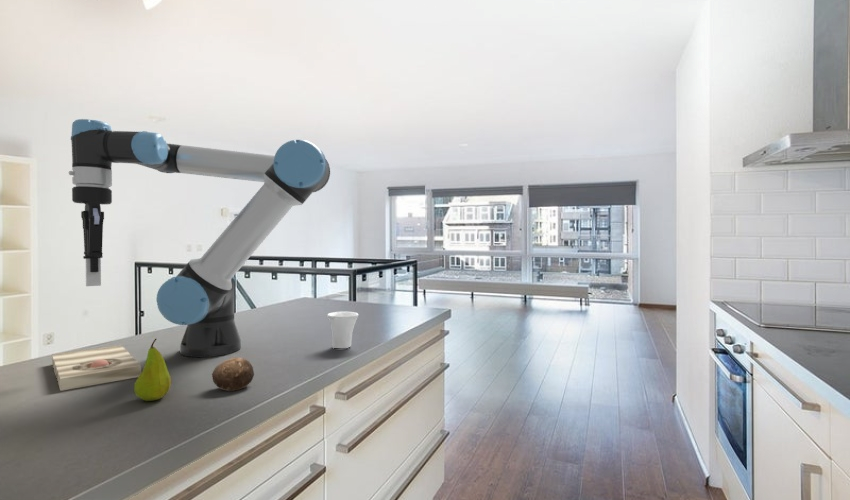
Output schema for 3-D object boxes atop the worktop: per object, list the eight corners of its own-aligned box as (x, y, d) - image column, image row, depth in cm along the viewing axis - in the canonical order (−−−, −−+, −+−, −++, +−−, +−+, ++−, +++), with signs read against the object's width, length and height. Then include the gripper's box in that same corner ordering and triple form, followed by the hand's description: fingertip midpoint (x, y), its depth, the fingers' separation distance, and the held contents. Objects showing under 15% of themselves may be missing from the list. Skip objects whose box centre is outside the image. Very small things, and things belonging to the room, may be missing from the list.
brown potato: (223, 364, 97) (227, 346, 94) (257, 377, 98) (262, 359, 95) (202, 392, 91) (206, 373, 87) (239, 406, 91) (244, 387, 88)
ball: (110, 376, 100) (114, 361, 101) (99, 371, 97) (104, 356, 98) (94, 377, 100) (99, 362, 101) (83, 373, 97) (89, 357, 99)
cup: (320, 349, 124) (320, 314, 124) (338, 342, 133) (338, 309, 132) (346, 353, 121) (347, 317, 120) (363, 345, 129) (364, 311, 129)
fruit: (146, 393, 88) (146, 334, 88) (178, 393, 88) (178, 334, 88) (126, 405, 82) (126, 341, 81) (160, 405, 82) (160, 342, 82)
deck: (52, 364, 106) (52, 354, 106) (121, 354, 116) (121, 345, 116) (60, 390, 89) (60, 378, 89) (141, 376, 98) (141, 365, 98)
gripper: (68, 187, 106) (70, 284, 107) (75, 183, 97) (77, 289, 98) (106, 190, 111) (107, 282, 112) (116, 186, 102) (117, 286, 103)
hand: (93, 285), depth 105 cm, fingers closed
